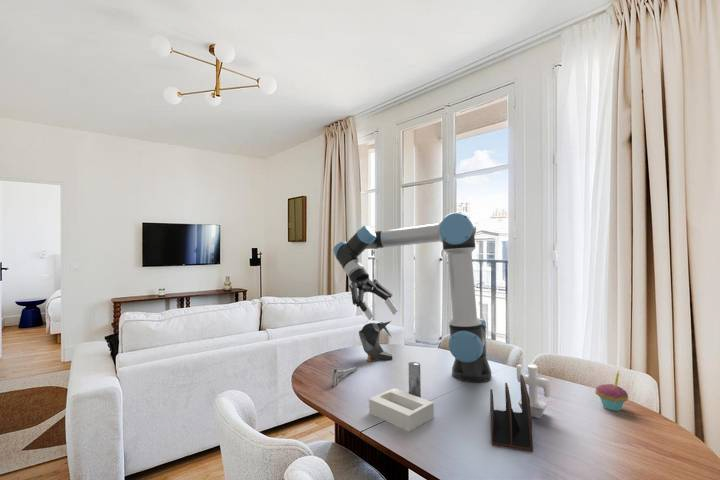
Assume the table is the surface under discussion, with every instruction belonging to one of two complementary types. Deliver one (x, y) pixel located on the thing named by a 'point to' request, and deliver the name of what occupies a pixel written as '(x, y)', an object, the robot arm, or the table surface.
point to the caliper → (341, 374)
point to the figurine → (534, 389)
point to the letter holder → (512, 422)
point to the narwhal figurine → (374, 341)
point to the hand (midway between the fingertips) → (384, 315)
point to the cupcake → (612, 395)
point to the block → (401, 409)
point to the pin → (414, 379)
